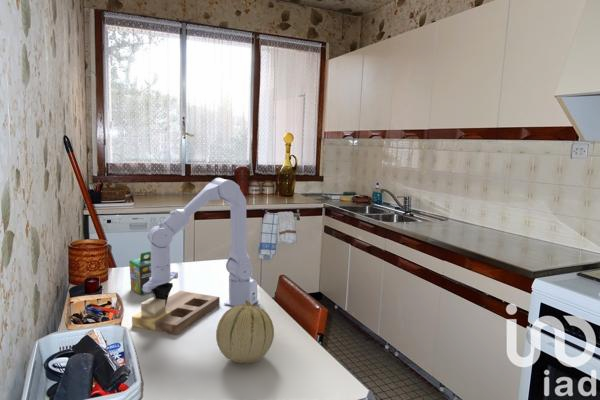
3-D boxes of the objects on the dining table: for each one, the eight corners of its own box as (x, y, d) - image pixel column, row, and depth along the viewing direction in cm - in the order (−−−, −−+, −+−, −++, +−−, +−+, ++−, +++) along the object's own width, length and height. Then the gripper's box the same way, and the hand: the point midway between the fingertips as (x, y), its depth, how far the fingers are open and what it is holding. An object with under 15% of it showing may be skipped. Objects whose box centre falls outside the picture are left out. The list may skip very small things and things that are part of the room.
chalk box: (153, 284, 166) (151, 247, 164) (164, 290, 160) (163, 251, 158) (129, 289, 160) (128, 251, 158) (140, 296, 153) (138, 256, 151)
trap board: (219, 305, 146) (219, 297, 145) (176, 335, 124) (176, 325, 123) (180, 298, 151) (180, 290, 151) (132, 326, 129) (131, 316, 129)
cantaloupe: (219, 378, 101) (218, 319, 99) (214, 349, 115) (213, 296, 113) (279, 370, 105) (280, 313, 103) (268, 343, 119) (268, 292, 117)
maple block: (165, 312, 132) (165, 299, 132) (154, 318, 127) (154, 305, 127) (152, 309, 134) (152, 297, 133) (141, 315, 129) (140, 303, 129)
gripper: (164, 257, 140) (166, 296, 142) (133, 269, 127) (135, 313, 129) (183, 259, 138) (183, 299, 140) (153, 272, 125) (154, 316, 126)
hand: (162, 306), depth 134 cm, fingers closed
